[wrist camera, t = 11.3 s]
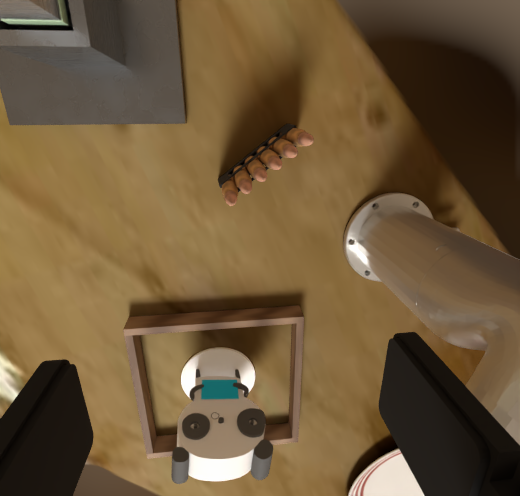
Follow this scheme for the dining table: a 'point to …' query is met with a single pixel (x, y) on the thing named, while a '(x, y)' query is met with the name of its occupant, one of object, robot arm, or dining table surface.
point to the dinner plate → (386, 478)
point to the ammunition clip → (262, 161)
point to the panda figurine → (220, 420)
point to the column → (37, 14)
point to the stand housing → (96, 67)
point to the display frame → (210, 321)
